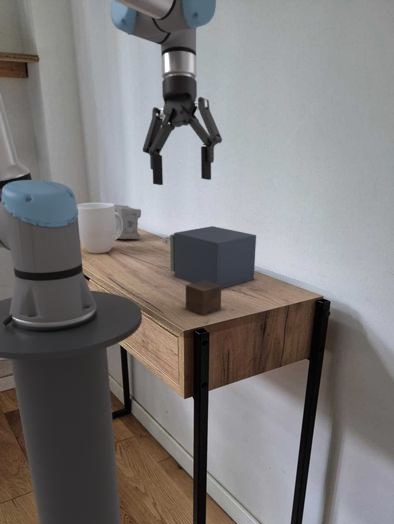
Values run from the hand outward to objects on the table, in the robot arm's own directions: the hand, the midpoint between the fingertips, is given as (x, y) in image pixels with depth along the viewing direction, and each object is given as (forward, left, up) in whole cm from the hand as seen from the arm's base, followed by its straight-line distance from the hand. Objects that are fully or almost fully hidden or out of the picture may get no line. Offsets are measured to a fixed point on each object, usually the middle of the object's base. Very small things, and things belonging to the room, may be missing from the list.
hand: (181, 182), depth 110 cm
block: (-7, -24, -22) cm, 33 cm away
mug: (-9, +34, -22) cm, 42 cm away
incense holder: (+3, +47, -22) cm, 52 cm away
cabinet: (+6, -6, -22) cm, 23 cm away
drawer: (+5, 0, -21) cm, 21 cm away
